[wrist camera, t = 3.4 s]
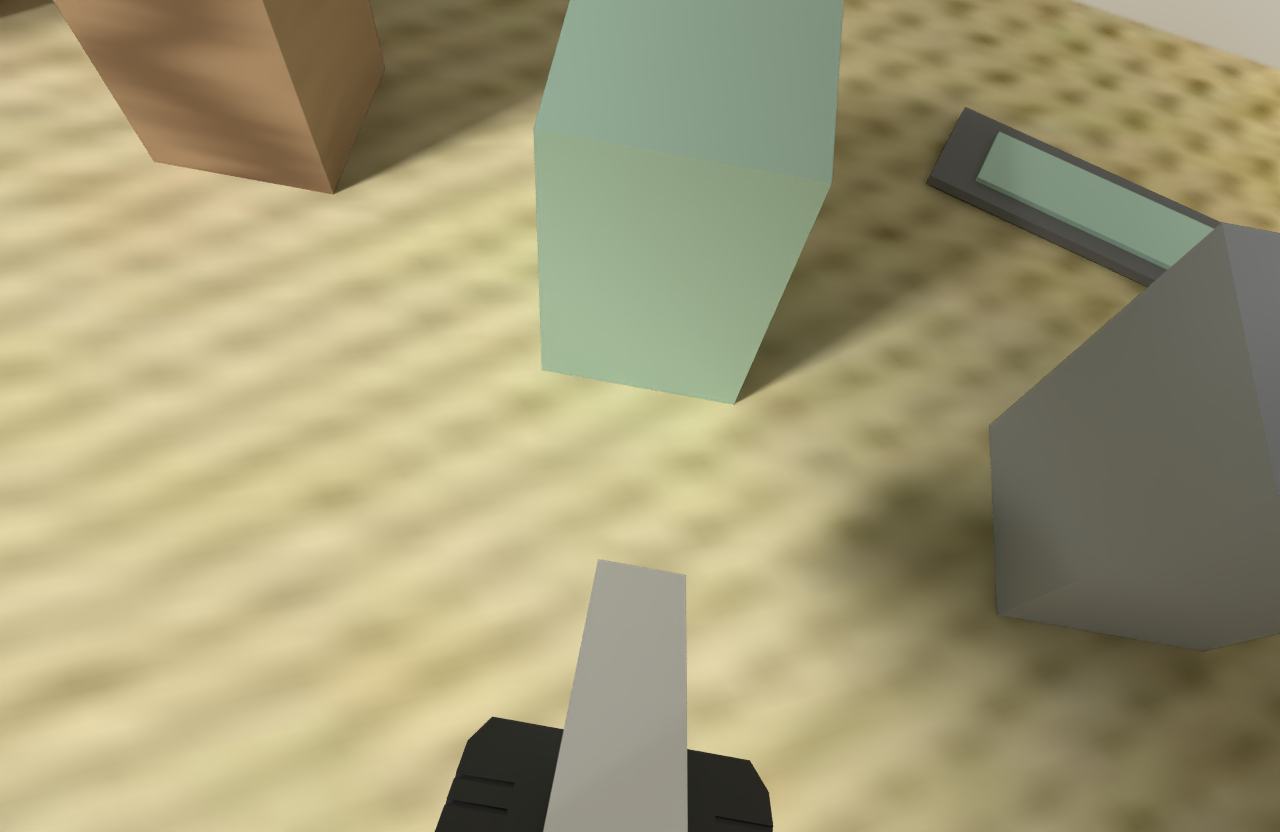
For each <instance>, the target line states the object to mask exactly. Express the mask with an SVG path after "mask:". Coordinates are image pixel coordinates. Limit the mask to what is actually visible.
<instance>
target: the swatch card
mask: <svg viewBox="0 0 1280 832" xmlns="http://www.w3.org/2000/svg"><path fill="white" fill-rule="evenodd" d="M926 183H927V184H929V185H931V186H933V187H935V188H937V189H940V190H942V191H944V192H946V193H948V194H950V195H952V196H955V197H957V198H959V199H961V200H963V201H965V202H967V203H969V204H972V205H974V206H976V207H978V208H980V209H982V210H984V211H987V212H989V213H991V214H993V215H995V216H997V217H999V218H1002V219H1004V220H1006V221H1008V222H1010V223H1012V224H1014V225H1016V226H1019V227H1021V228H1023V229H1025V230H1027V231H1029V232H1031V233H1034V234H1036V235H1038V236H1040V237H1042V238H1044V239H1046V240H1049V241H1051V242H1053V243H1055V244H1057V245H1059V246H1061V247H1064V248H1066V249H1068V250H1070V251H1072V252H1074V253H1076V254H1078V255H1081V256H1083V257H1085V258H1087V259H1089V260H1091V261H1093V262H1096V263H1098V264H1100V265H1102V266H1104V267H1106V268H1108V269H1111V270H1113V271H1115V272H1117V273H1119V274H1121V275H1123V276H1125V277H1128V278H1130V279H1132V280H1134V281H1136V282H1138V283H1140V284H1143V285H1145V286H1147V287H1149V286H1150V285H1151V284H1152V283H1153V282H1154V281H1155V280H1157V279H1158V278H1159V277H1160V276H1161V275H1162V274H1163V273H1165V272H1166V271H1167V270H1168V269H1169V268H1170V267H1171V266H1173V265H1174V264H1175V263H1176V262H1177V261H1178V260H1179V259H1181V258H1182V257H1183V256H1184V255H1185V254H1186V253H1187V252H1189V251H1190V250H1191V249H1192V248H1193V247H1194V246H1195V245H1197V244H1198V243H1199V242H1200V241H1201V240H1202V239H1203V238H1205V237H1206V236H1207V235H1208V234H1209V233H1210V232H1211V231H1213V230H1214V229H1215V228H1216V227H1217V226H1218V225H1219V224H1221V222H1219V221H1217V220H1214V219H1212V218H1210V217H1208V216H1206V215H1203V214H1201V213H1199V212H1197V211H1194V210H1192V209H1190V208H1188V207H1186V206H1183V205H1181V204H1179V203H1177V202H1175V201H1172V200H1170V199H1168V198H1166V197H1163V196H1161V195H1159V194H1157V193H1155V192H1152V191H1150V190H1148V189H1146V188H1143V187H1141V186H1139V185H1137V184H1135V183H1132V182H1130V181H1128V180H1126V179H1124V178H1121V177H1119V176H1117V175H1115V174H1112V173H1110V172H1108V171H1106V170H1104V169H1101V168H1099V167H1097V166H1095V165H1093V164H1090V163H1088V162H1086V161H1084V160H1081V159H1079V158H1077V157H1075V156H1073V155H1070V154H1068V153H1066V152H1064V151H1062V150H1059V149H1057V148H1055V147H1053V146H1050V145H1048V144H1046V143H1044V142H1042V141H1039V140H1037V139H1035V138H1033V137H1030V136H1028V135H1026V134H1024V133H1022V132H1019V131H1017V130H1015V129H1013V128H1011V127H1008V126H1006V125H1004V124H1002V123H999V122H997V121H995V120H993V119H991V118H988V117H986V116H984V115H982V114H980V113H977V112H975V111H973V110H971V109H968V108H966V107H965V109H964V110H963V112H962V114H961V116H960V117H959V119H958V121H957V123H956V125H955V127H954V129H953V131H952V133H951V135H950V137H949V139H948V141H947V143H946V145H945V147H944V149H943V151H942V153H941V155H940V157H939V159H938V161H937V163H936V165H935V167H934V169H933V171H932V173H931V174H930V176H929V178H928V180H927V182H926Z"/></svg>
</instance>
